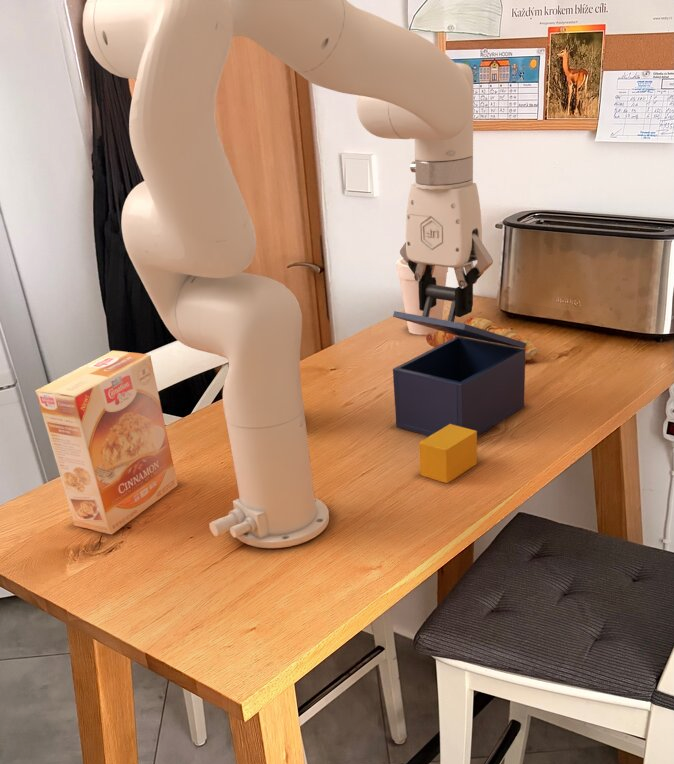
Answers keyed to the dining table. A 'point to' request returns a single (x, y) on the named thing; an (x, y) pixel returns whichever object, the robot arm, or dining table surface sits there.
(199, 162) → the robot arm
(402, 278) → the foam cup
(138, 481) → the coffeecake box
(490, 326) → the croissant
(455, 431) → the cheese block
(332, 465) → the dining table surface
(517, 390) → the cool box
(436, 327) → the lid
